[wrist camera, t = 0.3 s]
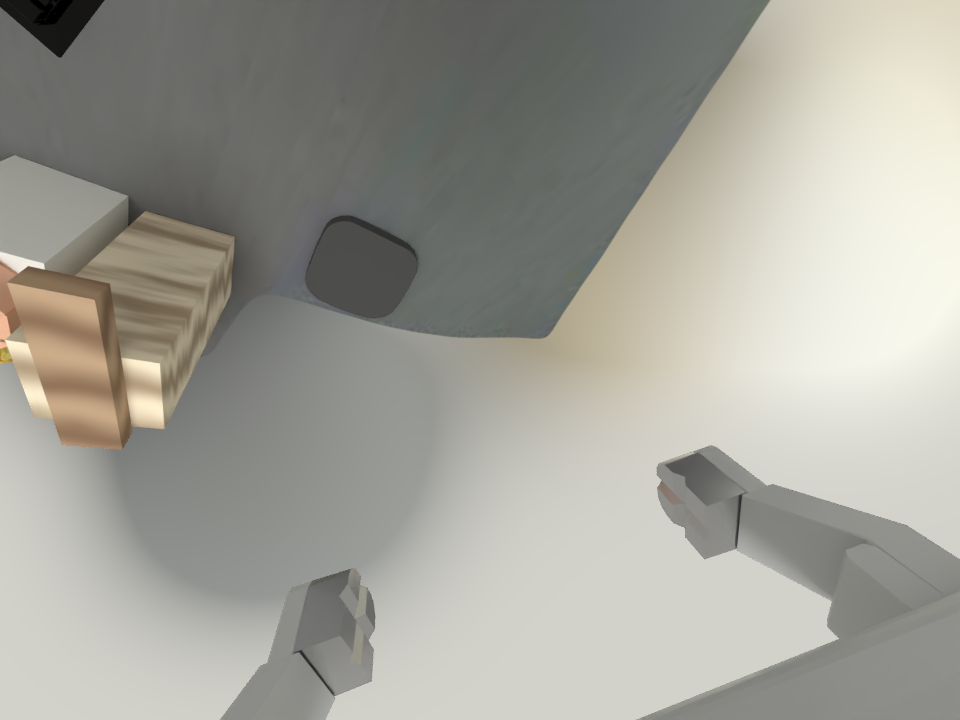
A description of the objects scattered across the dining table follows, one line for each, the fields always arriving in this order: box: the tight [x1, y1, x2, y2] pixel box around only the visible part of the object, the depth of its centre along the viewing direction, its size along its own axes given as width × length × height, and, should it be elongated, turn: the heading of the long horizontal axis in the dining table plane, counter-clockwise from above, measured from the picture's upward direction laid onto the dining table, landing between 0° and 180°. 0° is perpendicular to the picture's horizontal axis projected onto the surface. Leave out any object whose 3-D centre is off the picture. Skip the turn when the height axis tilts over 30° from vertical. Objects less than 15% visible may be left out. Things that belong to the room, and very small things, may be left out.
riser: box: [0, 155, 129, 276], centre depth 41 cm, size 10×10×17 cm
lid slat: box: [7, 266, 132, 449], centre depth 32 cm, size 19×4×2 cm, turn 154°
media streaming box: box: [305, 216, 417, 318], centre depth 59 cm, size 15×15×3 cm
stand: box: [5, 211, 235, 429], centre depth 44 cm, size 10×10×26 cm
